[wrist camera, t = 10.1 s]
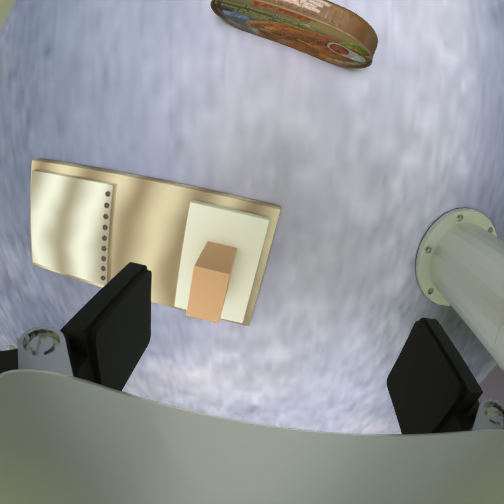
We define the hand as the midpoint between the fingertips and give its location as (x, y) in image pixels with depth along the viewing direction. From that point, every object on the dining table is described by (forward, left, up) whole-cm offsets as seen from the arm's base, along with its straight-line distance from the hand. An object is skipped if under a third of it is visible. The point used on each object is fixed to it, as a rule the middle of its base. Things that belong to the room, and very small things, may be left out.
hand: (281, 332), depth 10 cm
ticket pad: (+14, +8, -23) cm, 29 cm away
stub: (+4, +8, -22) cm, 24 cm away
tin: (+2, -17, -24) cm, 29 cm away
